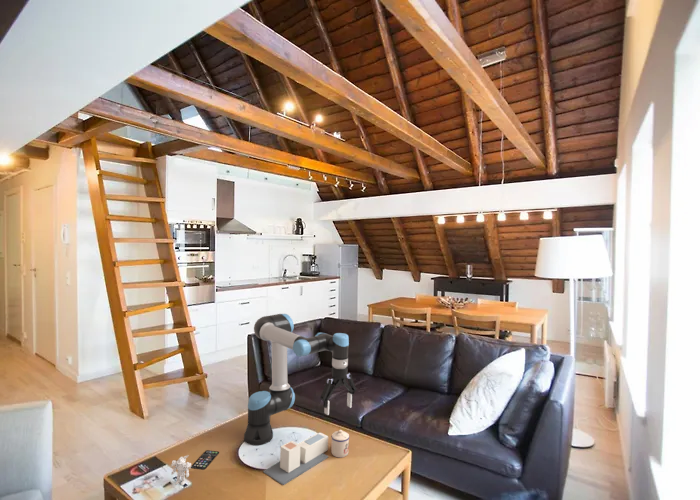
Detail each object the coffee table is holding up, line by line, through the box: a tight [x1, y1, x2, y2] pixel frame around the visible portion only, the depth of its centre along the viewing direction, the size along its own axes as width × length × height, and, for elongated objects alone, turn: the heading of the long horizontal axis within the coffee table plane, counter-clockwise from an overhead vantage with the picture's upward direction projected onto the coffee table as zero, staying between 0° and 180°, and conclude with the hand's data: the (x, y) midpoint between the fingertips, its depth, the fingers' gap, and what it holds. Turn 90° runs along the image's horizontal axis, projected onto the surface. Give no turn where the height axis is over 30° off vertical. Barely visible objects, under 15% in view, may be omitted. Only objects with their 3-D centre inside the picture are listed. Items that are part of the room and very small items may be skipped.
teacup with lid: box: [331, 429, 350, 458], centre depth 195 cm, size 12×9×12 cm
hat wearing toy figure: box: [170, 454, 192, 486], centre depth 166 cm, size 9×4×12 cm, turn 81°
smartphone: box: [190, 449, 220, 471], centre depth 184 cm, size 7×1×15 cm
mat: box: [262, 452, 329, 486], centre depth 182 cm, size 14×29×1 cm, turn 141°
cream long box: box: [298, 432, 329, 464], centre depth 190 cm, size 6×17×7 cm, turn 141°
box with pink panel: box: [279, 440, 300, 473], centre depth 179 cm, size 6×7×10 cm
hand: (338, 410), depth 183 cm, fingers open, 13 cm apart
